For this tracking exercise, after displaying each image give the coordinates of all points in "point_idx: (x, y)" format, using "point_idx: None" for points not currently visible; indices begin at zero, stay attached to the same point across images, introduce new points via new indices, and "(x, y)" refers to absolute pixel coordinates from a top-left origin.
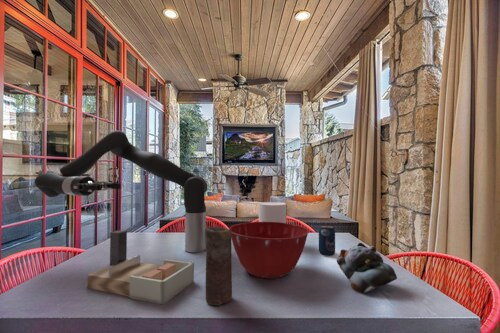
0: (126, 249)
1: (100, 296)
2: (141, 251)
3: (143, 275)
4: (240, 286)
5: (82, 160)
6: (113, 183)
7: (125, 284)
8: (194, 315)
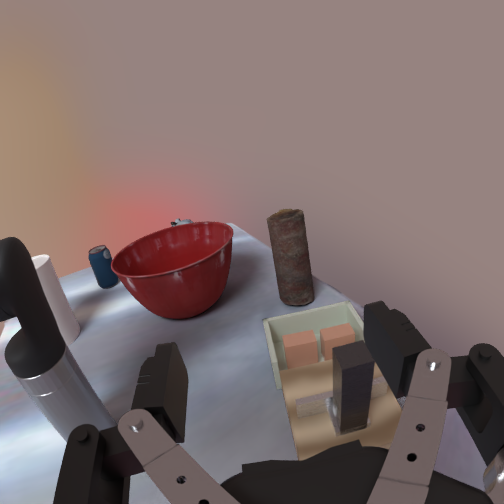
0: (333, 385)
1: (403, 399)
2: None
3: (353, 332)
4: (250, 302)
5: None
6: (165, 390)
7: None
8: (340, 296)
